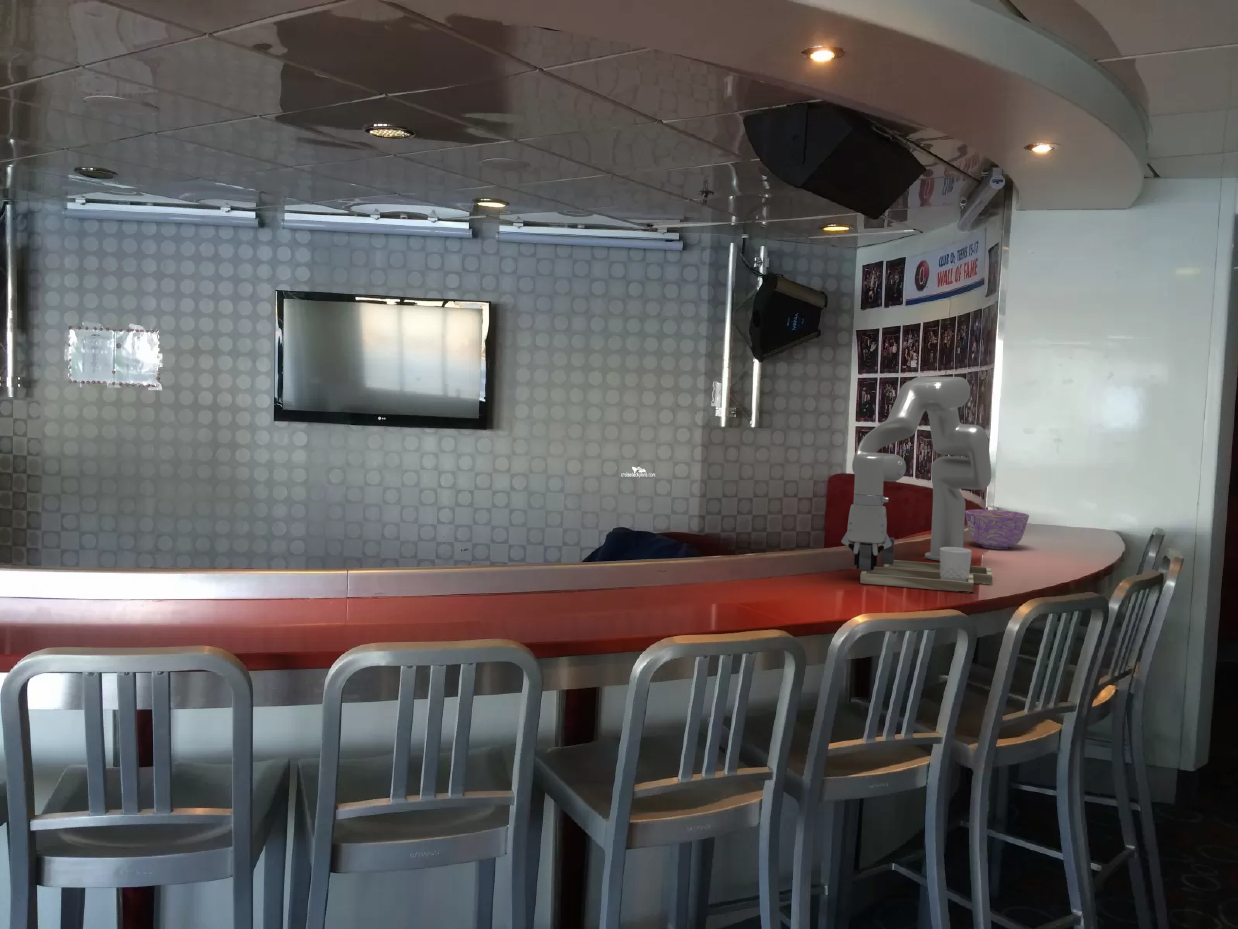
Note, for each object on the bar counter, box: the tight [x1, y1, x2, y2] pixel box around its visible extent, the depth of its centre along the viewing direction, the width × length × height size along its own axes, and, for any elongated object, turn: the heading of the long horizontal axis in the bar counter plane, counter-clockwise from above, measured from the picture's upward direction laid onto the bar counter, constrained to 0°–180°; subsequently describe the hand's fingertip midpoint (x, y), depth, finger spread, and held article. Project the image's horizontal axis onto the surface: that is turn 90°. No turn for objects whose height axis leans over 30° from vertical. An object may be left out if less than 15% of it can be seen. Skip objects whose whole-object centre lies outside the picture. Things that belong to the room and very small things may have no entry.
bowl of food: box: [965, 509, 1030, 550], centre depth 326 cm, size 20×20×12 cm
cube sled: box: [881, 537, 993, 585], centre depth 270 cm, size 13×29×10 cm, turn 71°
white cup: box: [939, 547, 972, 582], centre depth 255 cm, size 8×8×10 cm
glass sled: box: [858, 543, 975, 592], centre depth 258 cm, size 13×29×10 cm, turn 71°
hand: (865, 568), depth 262 cm, fingers closed on glass sled, 3 cm apart
